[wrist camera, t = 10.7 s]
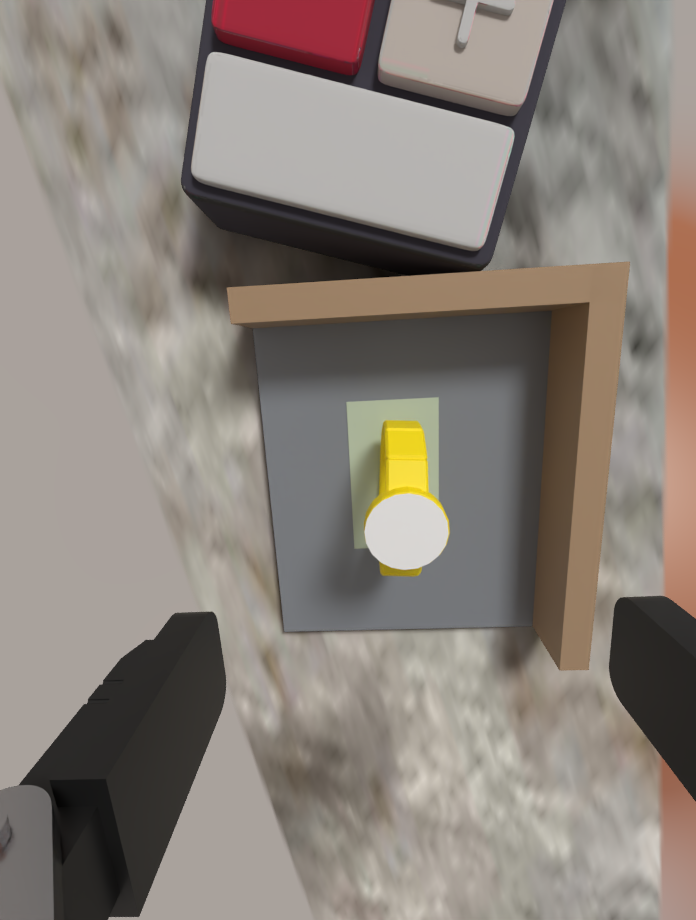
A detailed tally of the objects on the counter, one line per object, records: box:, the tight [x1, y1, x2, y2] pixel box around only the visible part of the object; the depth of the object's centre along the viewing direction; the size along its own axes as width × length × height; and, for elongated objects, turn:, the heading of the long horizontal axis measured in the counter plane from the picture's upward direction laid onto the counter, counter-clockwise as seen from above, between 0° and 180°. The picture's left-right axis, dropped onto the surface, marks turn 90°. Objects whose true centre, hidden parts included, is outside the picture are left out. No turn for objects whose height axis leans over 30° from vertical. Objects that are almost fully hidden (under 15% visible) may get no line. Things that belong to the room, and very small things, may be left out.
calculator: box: [181, 0, 566, 276], centre depth 14 cm, size 11×4×15 cm
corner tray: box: [227, 262, 630, 670], centre depth 18 cm, size 16×14×4 cm
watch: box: [364, 420, 450, 577], centre depth 16 cm, size 6×3×6 cm, turn 179°
